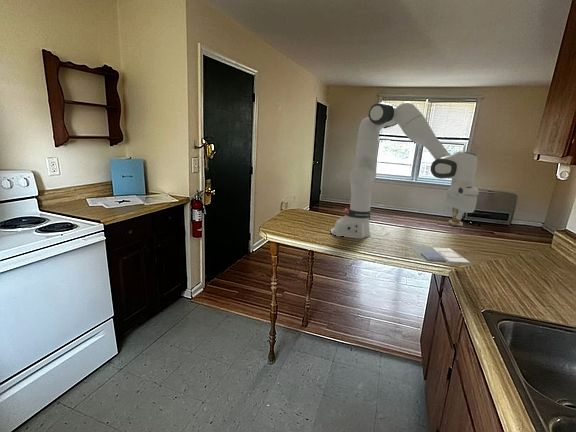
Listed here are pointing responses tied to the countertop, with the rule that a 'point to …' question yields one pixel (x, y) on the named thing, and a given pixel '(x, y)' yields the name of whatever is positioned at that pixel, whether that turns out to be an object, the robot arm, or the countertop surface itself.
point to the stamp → (455, 220)
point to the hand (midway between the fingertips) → (456, 218)
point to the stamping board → (439, 254)
